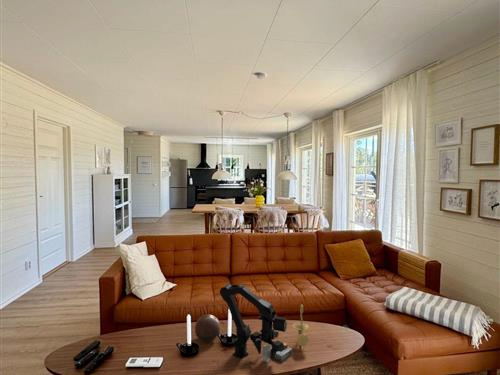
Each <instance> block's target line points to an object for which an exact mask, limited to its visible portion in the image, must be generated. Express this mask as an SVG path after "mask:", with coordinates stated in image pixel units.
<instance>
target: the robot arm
mask: <svg viewBox="0 0 500 375" xmlns="http://www.w3.org/2000/svg"><path fill="white" fill-rule="evenodd" d="M238 294H239V295H240V296H242V297H243V298H244V299H245V300H246V301H247V302H249V303H251V305H253V306H254V307H255V308H256V309H257V312H258V313H259V314H260V316H258V319H257V320H260V321H261V329H260V330H259V331H255V332H253V333H252V330H251V328H250V326H249V324H248V325H246V324H245V322H244V319H243V317H242V315H241V312H240V310H239V306H238V304H237V301H236V299H235V298H236V297H235V296H236V295H238ZM219 295H220V297H221V298H222V300H223V301H224V302H225V303H226V304H227V306H228V310H229V312H230V315H231V317H232V319H233V323H234V325H235V328H236V331H235V334H236V338H235V340H234V341H233V342H232V343H233V346H234V352H233V353H232V355H233V356H234V357H235V358H237V359H241V360H242V359H243V358H245V357H246V356H248V355H249V352H247V350H248V348H247V346H248V344H247V343H248V341H249V340H250V341H251V342H252V343H253V345H254V346H255V348H256V350H257V353H258V355H260V354H262V342H263V343H265V344H268V345H270V346H272V349H271V356H270V359H271V361H274V359H275V358H274V357H275V355H276V352H278V351H279V352H280V350H281V349H283V348H284V344H283V342H284V341H280V340H278V337H279V334H280V332H283V333H286V331H287V328H288V322H287V318H286V317H280V316H278V314H277V313H278V312H276V310H275V308H274V305H273V304H272V303H270V302H268V301H266V300H264V299H261V298H260V297H258V296H257V295H256V294H255V293H254V292H252V291H251V290H250V289H249V288H248V287H246V286H245V285H244V284H242V283H241V284H240V283H239V284H231V283H227V284H225V285H223V286H222V287H221V288H220V290H219ZM275 338H276V339H277V340H276V341H273V340H275Z"/></svg>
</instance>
